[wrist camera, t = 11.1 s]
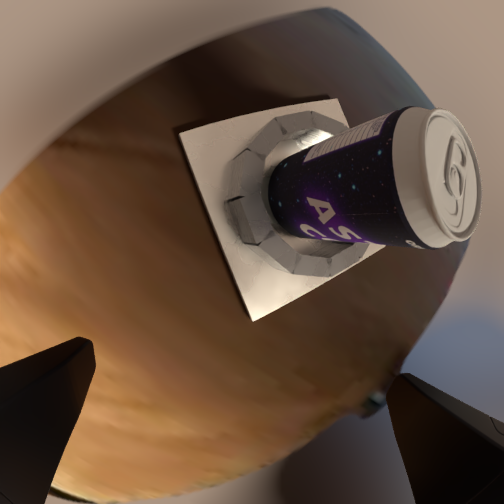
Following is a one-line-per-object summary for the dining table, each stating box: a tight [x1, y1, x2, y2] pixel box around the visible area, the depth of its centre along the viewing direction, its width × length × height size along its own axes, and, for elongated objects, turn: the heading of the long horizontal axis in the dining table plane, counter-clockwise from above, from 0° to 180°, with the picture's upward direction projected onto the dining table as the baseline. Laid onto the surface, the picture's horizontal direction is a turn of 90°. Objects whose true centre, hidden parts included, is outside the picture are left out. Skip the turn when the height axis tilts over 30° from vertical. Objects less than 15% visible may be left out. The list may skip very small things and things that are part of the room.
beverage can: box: [268, 106, 482, 250], centre depth 13 cm, size 6×6×12 cm
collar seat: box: [178, 99, 385, 321], centre depth 18 cm, size 13×13×3 cm
